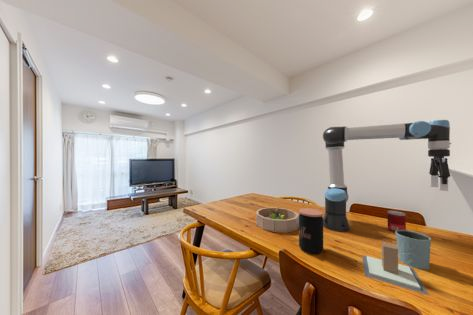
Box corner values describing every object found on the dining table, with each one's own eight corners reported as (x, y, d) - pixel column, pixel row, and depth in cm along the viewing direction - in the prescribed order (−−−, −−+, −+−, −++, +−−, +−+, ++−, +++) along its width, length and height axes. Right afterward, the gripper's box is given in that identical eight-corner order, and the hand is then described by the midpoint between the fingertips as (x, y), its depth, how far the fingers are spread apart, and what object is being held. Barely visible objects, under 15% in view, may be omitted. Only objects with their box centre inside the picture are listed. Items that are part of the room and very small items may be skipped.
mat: (364, 277, 62) (364, 275, 62) (362, 256, 75) (362, 255, 75) (429, 297, 53) (429, 295, 53) (413, 269, 66) (412, 267, 66)
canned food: (409, 234, 97) (409, 215, 98) (393, 233, 99) (393, 214, 99) (399, 228, 105) (399, 211, 105) (384, 227, 107) (384, 210, 107)
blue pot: (436, 275, 63) (436, 242, 63) (399, 266, 68) (399, 236, 68) (425, 261, 71) (424, 232, 72) (393, 254, 77) (392, 227, 77)
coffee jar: (295, 244, 86) (295, 208, 86) (315, 243, 87) (315, 207, 87) (305, 256, 75) (305, 215, 75) (328, 254, 76) (328, 214, 76)
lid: (369, 274, 62) (369, 247, 62) (366, 257, 73) (366, 234, 73) (420, 290, 55) (420, 259, 55) (408, 268, 66) (408, 243, 66)
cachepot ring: (249, 225, 109) (249, 214, 110) (266, 214, 132) (266, 205, 132) (291, 236, 94) (291, 223, 95) (302, 221, 117) (302, 211, 117)
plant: (258, 227, 107) (258, 210, 108) (265, 217, 126) (265, 202, 126) (291, 232, 100) (291, 213, 100) (293, 221, 118) (293, 205, 118)
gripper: (460, 147, 79) (460, 193, 79) (440, 150, 99) (440, 186, 99) (436, 148, 84) (436, 191, 83) (421, 150, 104) (422, 185, 104)
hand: (438, 188), depth 91 cm, fingers open, 13 cm apart
